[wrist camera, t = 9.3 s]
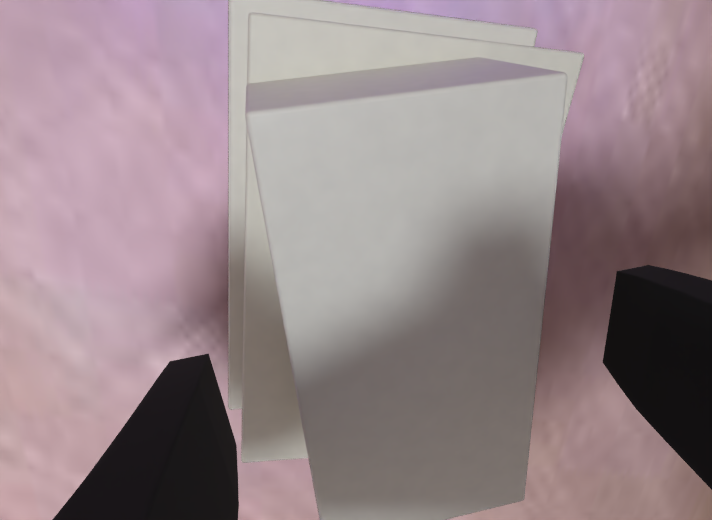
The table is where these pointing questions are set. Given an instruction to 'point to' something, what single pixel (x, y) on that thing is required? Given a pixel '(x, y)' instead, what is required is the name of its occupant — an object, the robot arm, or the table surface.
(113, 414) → the table surface
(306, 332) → the cream rectangular block
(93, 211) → the table surface
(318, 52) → the cream stack
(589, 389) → the table surface
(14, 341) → the table surface
